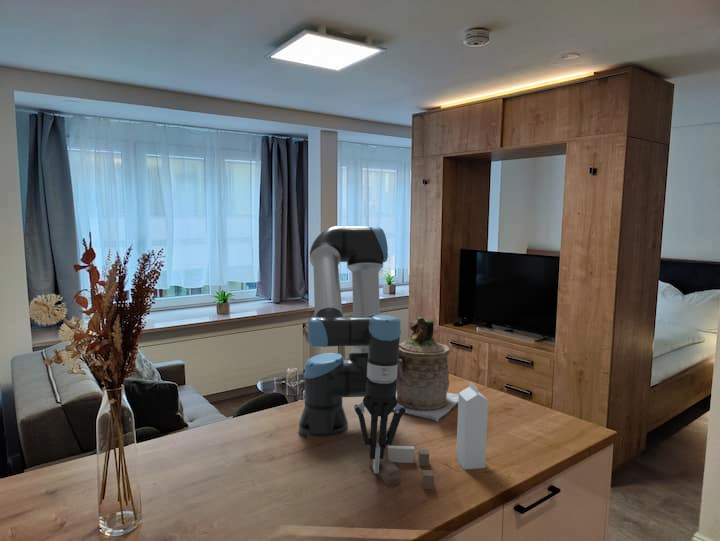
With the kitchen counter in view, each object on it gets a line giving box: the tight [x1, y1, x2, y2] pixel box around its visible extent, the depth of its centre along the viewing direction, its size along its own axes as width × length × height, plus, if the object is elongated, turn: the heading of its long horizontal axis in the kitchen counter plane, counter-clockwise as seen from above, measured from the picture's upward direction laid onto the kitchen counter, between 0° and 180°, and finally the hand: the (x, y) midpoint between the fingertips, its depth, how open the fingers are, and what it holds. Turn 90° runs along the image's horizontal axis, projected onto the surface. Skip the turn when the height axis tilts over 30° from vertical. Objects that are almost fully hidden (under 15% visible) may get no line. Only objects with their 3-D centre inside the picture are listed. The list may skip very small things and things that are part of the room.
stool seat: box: [387, 445, 435, 490], centre depth 123 cm, size 17×15×5 cm
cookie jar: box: [392, 316, 459, 423], centre depth 170 cm, size 25×25×32 cm
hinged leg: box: [369, 455, 401, 487], centre depth 122 cm, size 12×3×4 cm, turn 26°
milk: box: [455, 381, 489, 470], centre depth 130 cm, size 6×6×22 cm
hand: (375, 470), depth 121 cm, fingers closed
